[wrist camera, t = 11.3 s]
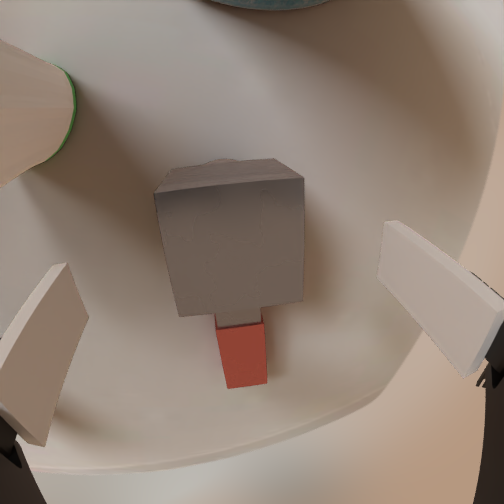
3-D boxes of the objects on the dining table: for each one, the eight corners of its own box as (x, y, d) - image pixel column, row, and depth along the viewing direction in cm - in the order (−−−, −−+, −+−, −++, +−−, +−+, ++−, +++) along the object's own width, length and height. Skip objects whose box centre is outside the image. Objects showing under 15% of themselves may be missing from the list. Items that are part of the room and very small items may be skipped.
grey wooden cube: (171, 169, 17) (153, 193, 12) (274, 158, 18) (304, 177, 12) (185, 261, 20) (179, 316, 14) (277, 250, 21) (302, 301, 15)
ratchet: (179, 164, 20) (165, 185, 14) (262, 155, 21) (286, 171, 14) (216, 371, 29) (220, 425, 23) (272, 363, 30) (286, 416, 24)
